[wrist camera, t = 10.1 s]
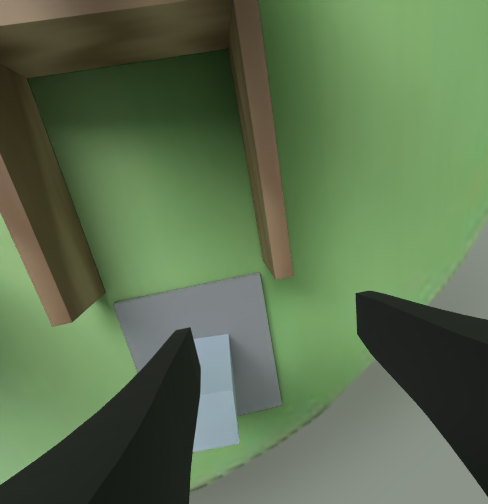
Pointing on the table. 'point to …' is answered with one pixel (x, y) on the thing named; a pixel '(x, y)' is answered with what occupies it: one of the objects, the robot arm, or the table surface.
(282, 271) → the brown u-shaped frame
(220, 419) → the block
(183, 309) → the pad
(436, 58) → the table surface
